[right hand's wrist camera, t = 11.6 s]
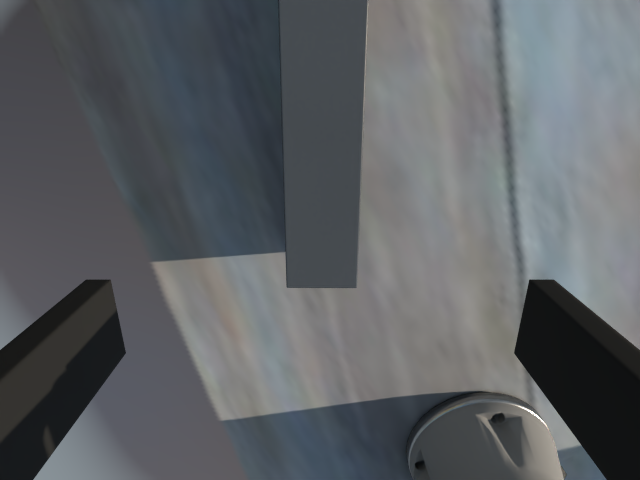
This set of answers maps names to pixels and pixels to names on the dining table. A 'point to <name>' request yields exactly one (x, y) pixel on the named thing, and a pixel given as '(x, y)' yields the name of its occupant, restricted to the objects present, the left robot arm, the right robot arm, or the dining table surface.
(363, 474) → the dining table surface
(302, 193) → the beam
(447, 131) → the dining table surface
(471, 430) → the right robot arm
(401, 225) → the dining table surface
